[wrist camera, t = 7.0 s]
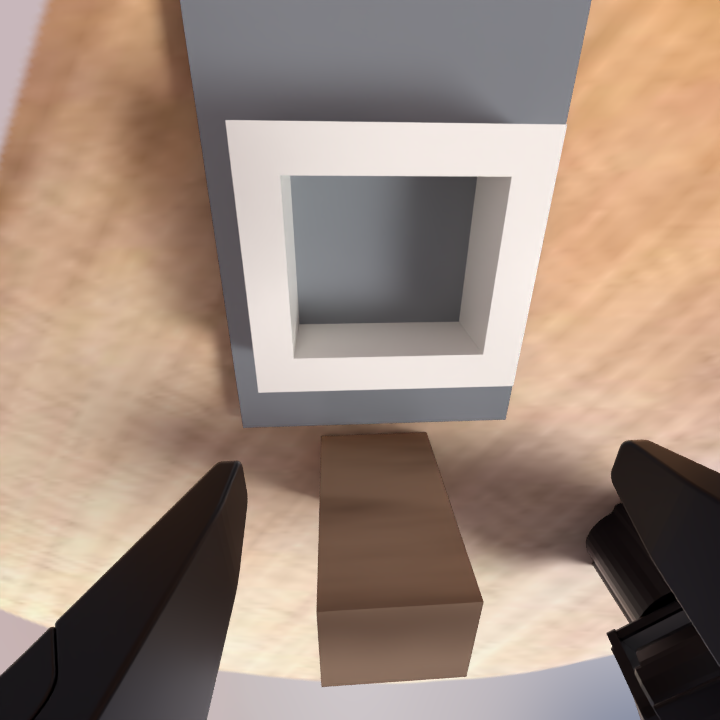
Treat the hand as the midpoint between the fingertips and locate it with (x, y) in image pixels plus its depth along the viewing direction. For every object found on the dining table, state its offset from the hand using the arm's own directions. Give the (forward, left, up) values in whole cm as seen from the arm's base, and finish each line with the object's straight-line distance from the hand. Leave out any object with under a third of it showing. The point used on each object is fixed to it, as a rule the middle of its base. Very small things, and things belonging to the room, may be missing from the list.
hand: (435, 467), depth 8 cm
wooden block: (-12, 0, -13) cm, 17 cm away
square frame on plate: (+1, 0, -13) cm, 13 cm away
